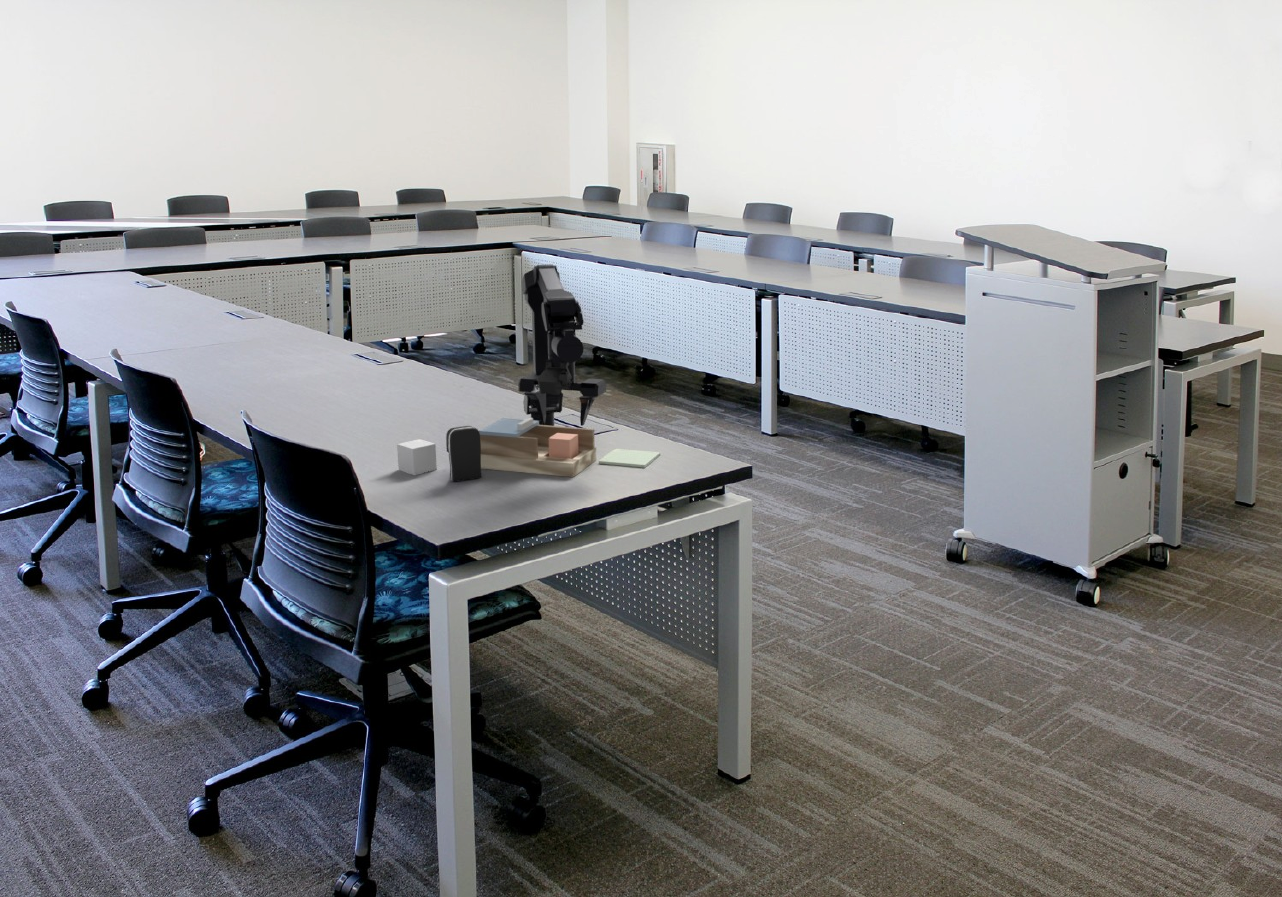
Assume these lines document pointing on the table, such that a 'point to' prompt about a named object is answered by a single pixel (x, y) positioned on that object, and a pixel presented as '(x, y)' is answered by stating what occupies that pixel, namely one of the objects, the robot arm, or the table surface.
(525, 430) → the cover
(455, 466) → the battery charger
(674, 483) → the table surface
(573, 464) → the open storage box
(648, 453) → the sage mat
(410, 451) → the white cube
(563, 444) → the block
